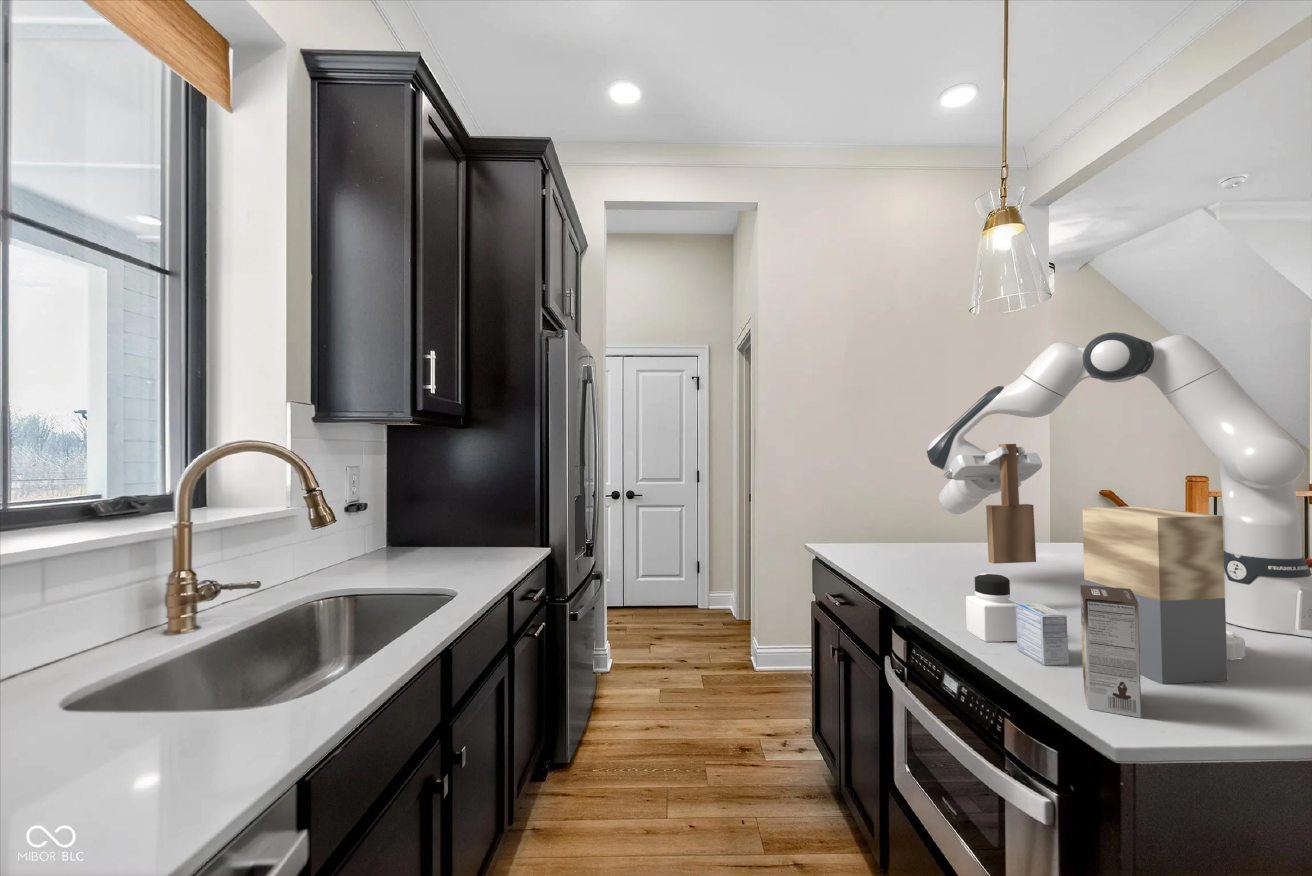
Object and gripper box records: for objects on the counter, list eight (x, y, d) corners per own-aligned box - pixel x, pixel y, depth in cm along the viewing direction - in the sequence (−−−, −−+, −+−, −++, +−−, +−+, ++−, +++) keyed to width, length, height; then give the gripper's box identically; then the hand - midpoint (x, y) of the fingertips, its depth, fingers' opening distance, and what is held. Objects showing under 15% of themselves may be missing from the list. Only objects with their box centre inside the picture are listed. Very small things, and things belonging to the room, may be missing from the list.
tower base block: (1143, 648, 109) (1140, 577, 109) (1227, 680, 94) (1224, 598, 94) (1086, 650, 108) (1084, 579, 108) (1162, 683, 93) (1159, 600, 93)
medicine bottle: (1022, 641, 114) (1020, 579, 114) (984, 642, 114) (983, 579, 114) (1001, 630, 121) (999, 571, 121) (965, 630, 121) (964, 571, 121)
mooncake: (1181, 658, 104) (1180, 638, 104) (1142, 637, 116) (1141, 618, 116) (1264, 663, 101) (1263, 642, 101) (1215, 640, 113) (1215, 621, 113)
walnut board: (1024, 443, 139) (1031, 443, 136) (1030, 560, 137) (1037, 562, 135) (983, 444, 138) (990, 444, 135) (988, 562, 137) (995, 563, 134)
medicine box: (1069, 665, 101) (1068, 614, 101) (1043, 666, 101) (1041, 615, 102) (1040, 649, 109) (1039, 602, 109) (1016, 650, 109) (1014, 602, 109)
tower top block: (1140, 577, 109) (1138, 506, 109) (1224, 598, 94) (1222, 515, 94) (1084, 579, 108) (1082, 507, 108) (1159, 600, 93) (1157, 517, 93)
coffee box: (1081, 686, 93) (1079, 583, 93) (1134, 695, 89) (1131, 588, 90) (1086, 709, 85) (1083, 596, 85) (1144, 719, 82) (1140, 602, 82)
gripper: (936, 466, 148) (964, 438, 136) (1015, 464, 149) (1049, 436, 137) (944, 489, 145) (973, 462, 133) (1024, 487, 146) (1060, 460, 134)
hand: (1013, 449), depth 135 cm, fingers closed on walnut board, 2 cm apart
